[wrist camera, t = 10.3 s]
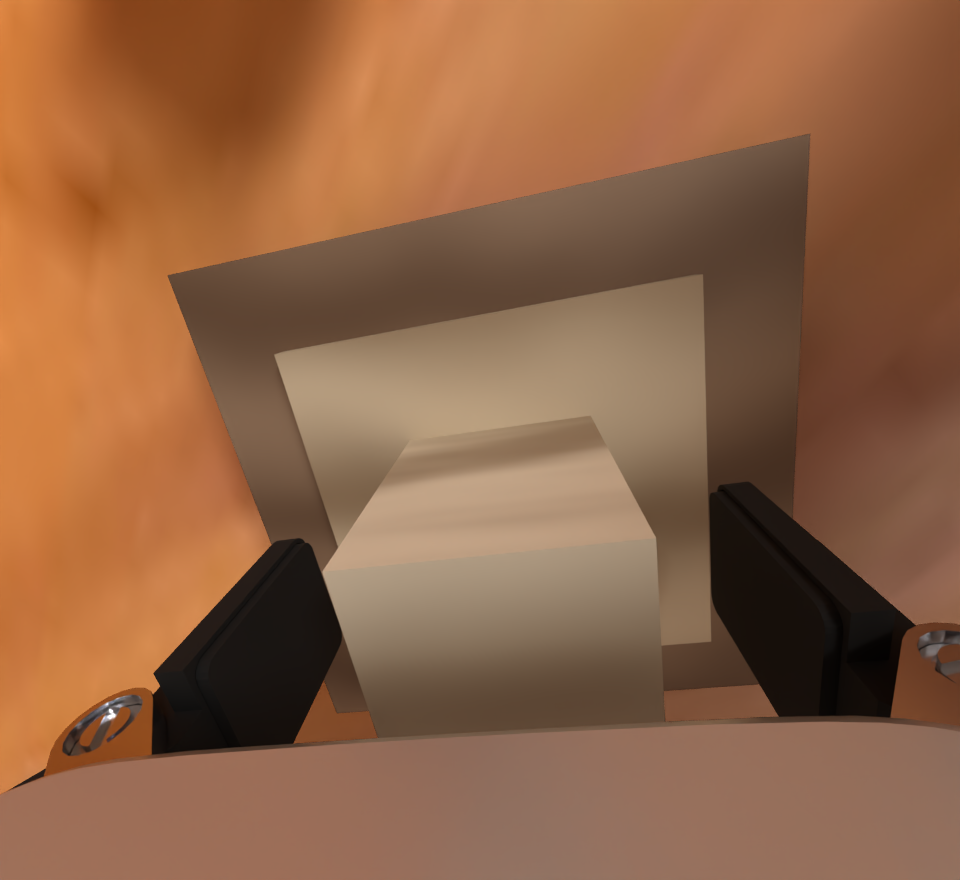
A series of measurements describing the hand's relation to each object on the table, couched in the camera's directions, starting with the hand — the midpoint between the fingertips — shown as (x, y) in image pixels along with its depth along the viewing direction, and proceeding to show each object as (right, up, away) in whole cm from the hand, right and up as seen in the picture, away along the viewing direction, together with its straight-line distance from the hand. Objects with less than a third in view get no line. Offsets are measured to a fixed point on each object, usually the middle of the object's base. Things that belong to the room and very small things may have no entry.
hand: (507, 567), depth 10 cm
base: (0, +2, +5) cm, 5 cm away
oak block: (0, +1, +3) cm, 3 cm away
